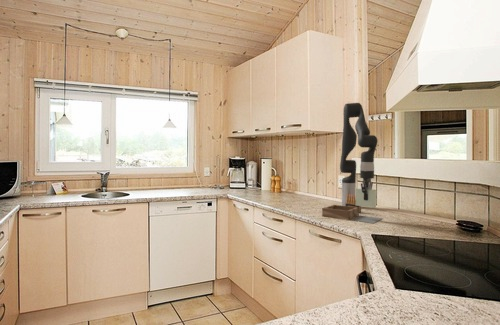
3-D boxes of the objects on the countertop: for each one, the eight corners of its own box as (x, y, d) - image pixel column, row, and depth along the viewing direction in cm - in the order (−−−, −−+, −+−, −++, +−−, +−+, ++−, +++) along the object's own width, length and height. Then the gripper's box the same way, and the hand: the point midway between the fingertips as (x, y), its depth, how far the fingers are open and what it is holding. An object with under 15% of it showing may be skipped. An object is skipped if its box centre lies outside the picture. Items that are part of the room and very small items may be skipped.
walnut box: (333, 212, 210) (333, 204, 210) (358, 215, 200) (358, 207, 200) (322, 216, 198) (322, 208, 198) (348, 219, 187) (348, 211, 187)
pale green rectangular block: (357, 204, 193) (357, 188, 193) (376, 207, 186) (376, 189, 186) (355, 205, 191) (356, 188, 191) (374, 207, 184) (375, 190, 184)
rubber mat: (360, 216, 199) (360, 215, 199) (382, 218, 191) (382, 218, 191) (350, 220, 186) (350, 219, 186) (373, 223, 178) (373, 223, 178)
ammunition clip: (361, 213, 208) (361, 194, 208) (359, 213, 207) (359, 194, 207) (347, 210, 217) (347, 192, 216) (345, 211, 216) (345, 192, 215)
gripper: (364, 169, 195) (364, 197, 196) (356, 170, 184) (355, 200, 185) (377, 169, 191) (377, 199, 191) (369, 170, 180) (369, 201, 180)
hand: (366, 199), depth 188 cm, fingers closed on pale green rectangular block, 2 cm apart
